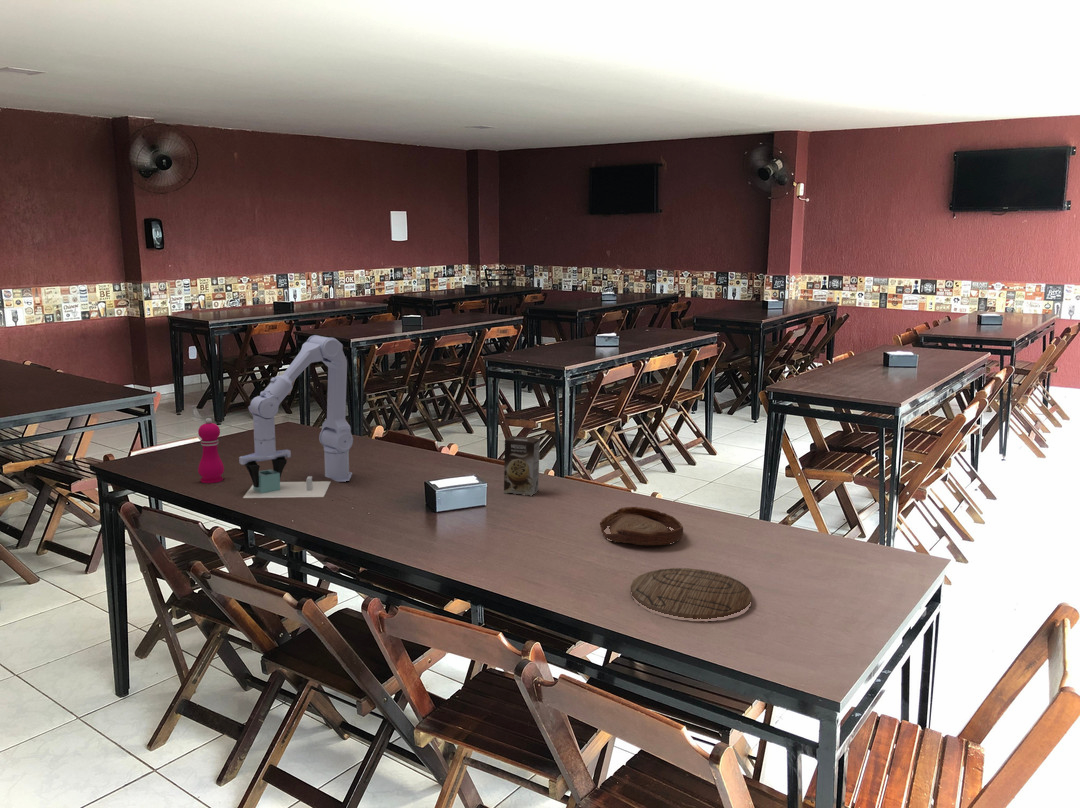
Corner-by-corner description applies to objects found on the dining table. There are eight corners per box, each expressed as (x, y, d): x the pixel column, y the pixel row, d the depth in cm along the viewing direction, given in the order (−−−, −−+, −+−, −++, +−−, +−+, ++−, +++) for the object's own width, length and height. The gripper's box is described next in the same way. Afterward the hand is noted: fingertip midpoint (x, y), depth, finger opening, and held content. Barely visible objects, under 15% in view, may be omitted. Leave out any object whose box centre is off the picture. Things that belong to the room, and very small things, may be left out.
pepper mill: (229, 481, 267) (225, 416, 263) (218, 487, 260) (214, 420, 256) (205, 480, 268) (202, 415, 264) (194, 486, 260) (190, 420, 257)
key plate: (254, 486, 262) (254, 471, 261) (330, 485, 264) (330, 470, 264) (242, 502, 246) (242, 486, 246) (323, 500, 249) (323, 485, 248)
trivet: (741, 632, 170) (741, 623, 170) (615, 611, 179) (616, 602, 179) (759, 586, 193) (760, 578, 193) (647, 569, 202) (648, 561, 202)
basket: (586, 527, 231) (587, 508, 230) (655, 519, 238) (656, 501, 237) (624, 556, 210) (625, 536, 209) (698, 547, 217) (699, 527, 216)
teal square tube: (253, 489, 255) (252, 472, 254) (271, 485, 258) (271, 469, 258) (261, 493, 251) (260, 476, 250) (280, 490, 254) (279, 473, 253)
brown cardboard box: (503, 493, 259) (503, 439, 256) (510, 488, 265) (510, 435, 262) (532, 496, 256) (533, 442, 253) (539, 490, 262) (540, 437, 259)
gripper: (245, 444, 244) (247, 492, 247) (294, 437, 254) (296, 483, 256) (235, 440, 249) (237, 486, 252) (284, 433, 259) (285, 478, 261)
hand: (266, 484), depth 254 cm, fingers closed on teal square tube, 6 cm apart
